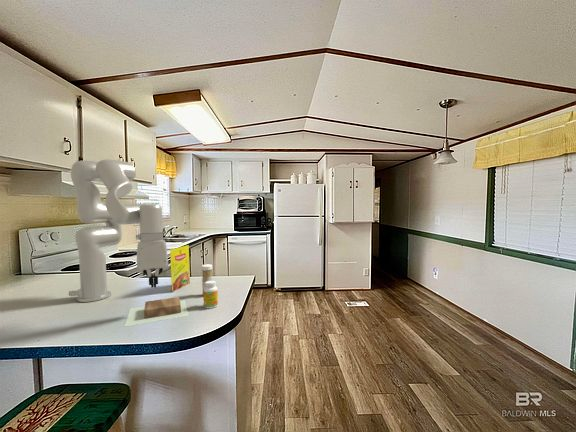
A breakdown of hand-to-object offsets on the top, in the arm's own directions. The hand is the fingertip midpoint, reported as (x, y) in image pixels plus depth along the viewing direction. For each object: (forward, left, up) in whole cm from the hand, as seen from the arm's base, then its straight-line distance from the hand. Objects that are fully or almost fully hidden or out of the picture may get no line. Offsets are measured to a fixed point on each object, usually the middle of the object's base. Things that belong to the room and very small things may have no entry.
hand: (153, 286), depth 102 cm
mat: (+1, 0, -10) cm, 10 cm away
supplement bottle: (+20, -2, -10) cm, 23 cm away
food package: (+11, +31, -10) cm, 35 cm away
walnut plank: (-3, 0, -8) cm, 9 cm away
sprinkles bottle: (+21, +13, -10) cm, 27 cm away
